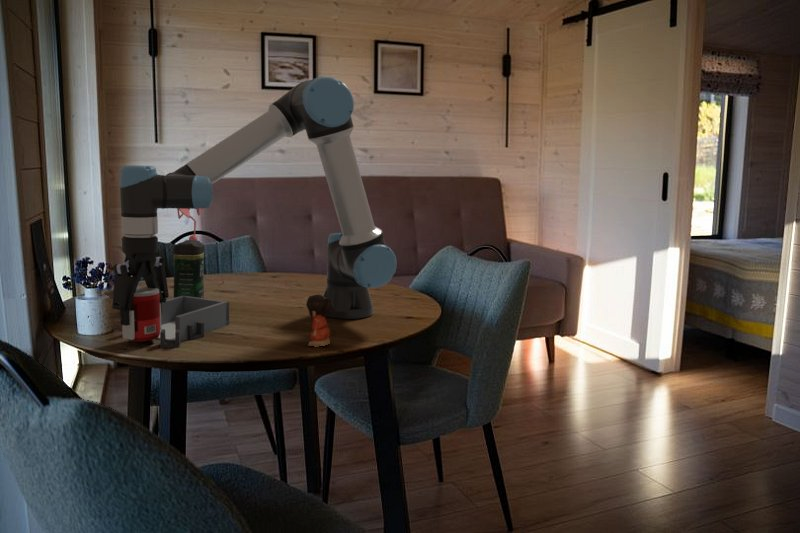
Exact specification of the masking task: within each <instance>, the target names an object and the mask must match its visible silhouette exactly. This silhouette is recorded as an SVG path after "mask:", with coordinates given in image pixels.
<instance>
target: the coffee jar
mask: <svg viewBox="0 0 800 533" xmlns="http://www.w3.org/2000/svg"><path fill="white" fill-rule="evenodd" d="M204 247H205V245H204V243H202V242H201V241H200V240H198V239H197V240H189V239H185V240H184V241H182V242H178V243H177V244H175V245H173V298H176V297H179V296H190V297H198V298H205V286H204V283H205V280H204V277H205V276H204V272H205V271H204V270H205V269H204V267H205V266H204V265H205V264H204V262H205V261H204V258H205V250H204V249H205V248H204Z"/></svg>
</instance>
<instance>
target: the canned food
mask: <svg viewBox="0 0 800 533" xmlns="http://www.w3.org/2000/svg"><path fill="white" fill-rule="evenodd" d="M125 305H126V304H125ZM131 310H133V311H134V329H135V339H133V340H130V339H126V341H130V342H147V341H148V342H149V341H153V340H155V339H156V338H158V337H159V335H160V296H159V289H157V288H147V286H137V289H136V292H135V293H134V300H133V303H132V307H131Z"/></svg>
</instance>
